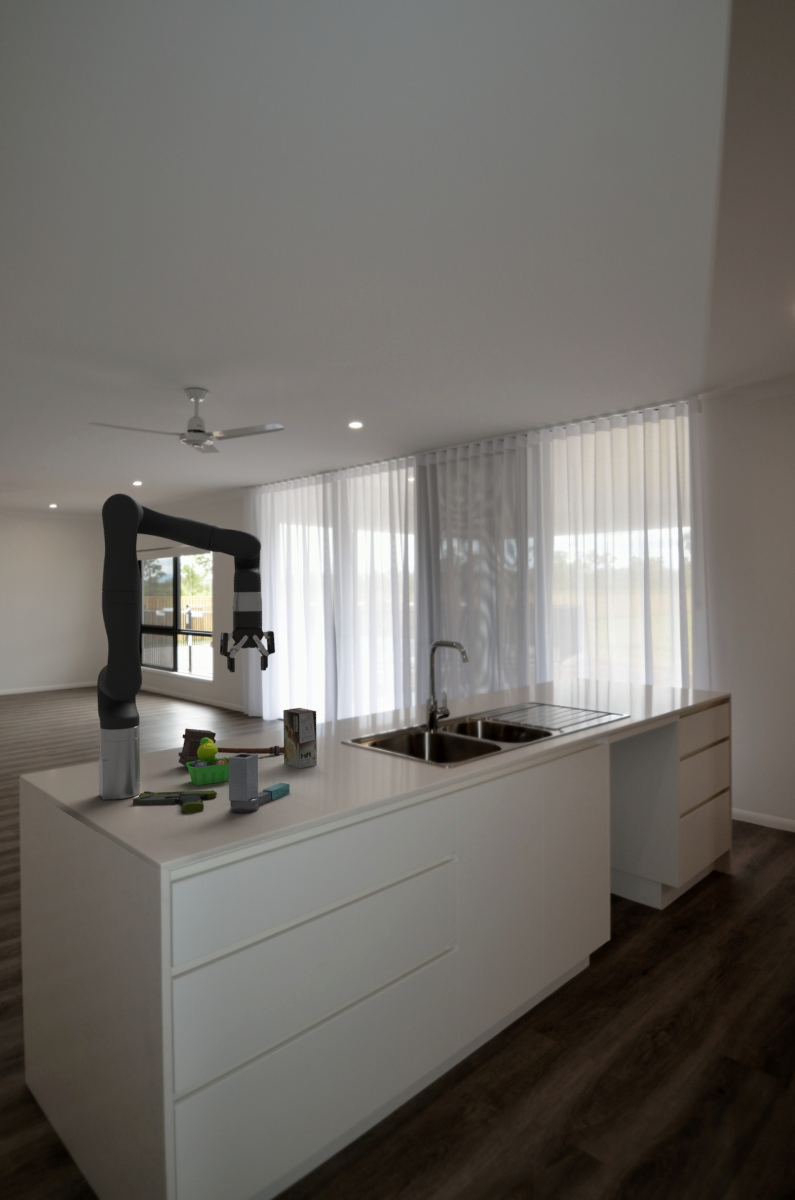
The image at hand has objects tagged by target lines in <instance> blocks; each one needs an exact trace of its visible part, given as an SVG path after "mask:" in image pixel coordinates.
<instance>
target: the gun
mask: <svg viewBox="0 0 795 1200" xmlns="http://www.w3.org/2000/svg"><path fill="white" fill-rule="evenodd" d="M217 795H218V792H217V791H215V790H211V789H210V790H184V791H183V790H182V791H163V792H162V791H161V792H160V791H159V792H154V791H143V792H140V793H139V794H138V796H136V797H134V798H132V805H133V806H149V805H153V806H154V805H169V804H170V805H173V804H174V805H177V804H178V805H179V804H181V810H182V813H184V814H190V813H191V814H192V813H199V812H202V811H204V810H205V809H204V807H205V806H204V805H205V804H204V801H205V800H210V799H215V798H217Z"/></svg>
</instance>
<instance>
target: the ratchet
mask: <svg viewBox="0 0 795 1200" xmlns="http://www.w3.org/2000/svg"><path fill="white" fill-rule="evenodd" d="M290 789H291V788H290V783H285V782H278V783H276V784H274V785H272V786H269V787H268V786H267V787H265V788H264V789H262V791H260V792H259V791H258V797H257V798H255V799H253V800H251V801H249V802H238V801H229V802H230V803H229V805H230V808H229V809H230V810H229V811H230V813H234V814H240V815H241V814H242V815H243V814H244V815H245V814H251V813H254V812H257V811H258V810H259V806H262V805H264V804H266V803H267V804H268V803H269V802H271V801H274V800H277V799H280V798H282V797H284V796H287V795H289V794H290V793H291V792H290Z"/></svg>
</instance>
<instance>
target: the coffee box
mask: <svg viewBox="0 0 795 1200" xmlns="http://www.w3.org/2000/svg"><path fill="white" fill-rule="evenodd" d="M282 713H283V716H282V717H283V718H282V719H283V720H282V721H283V747H284V753H283V764H285V765H288V766H291V767H295V768H298V769H304V768H309V767H314V766H318V755H317V754H318V750H317V749H318V747H317V745H318V744H317V743H318V742H317V738H318V737H317V710H313V709H307V708H303V707H296V708H289V709H283V711H282Z"/></svg>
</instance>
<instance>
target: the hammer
mask: <svg viewBox="0 0 795 1200" xmlns="http://www.w3.org/2000/svg"><path fill="white" fill-rule="evenodd" d="M216 735H217V734H216V732H213V731H211V730H208V729H207V730H205V729H194V728H185V729H184V733H183V734H182V739H183V744H182V749H181V751H179V752H178V757H179V759H178V761H177V762H178V763H179V764H181V765H182V766H184V767H187V765H186V763H187V762H193V761H197V760H200V759H199V757H198V755H197V751H198V748H199V746H200V741H201V739H202V738H206V737H207V738H209V739H211V740H212V741H213V742H214V744H216V742H217V739H216ZM217 749H218V752H217V753H219V754H220V753H222V754H239V753H248V754H258V755H259V754H260V755H261V754H262V755H263V754H264V755H267V754H269V755H274V756H279V755H280V754H284V746H280V745H274V746H269V747H265V748H264V747H262V748H261V747H260V748H259V747H255V748H254V747H253V748H251V747H250V748H248V747H247V748H246V747H245V748H243V747H241V748H240V747H239V748H238V747H217Z"/></svg>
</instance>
